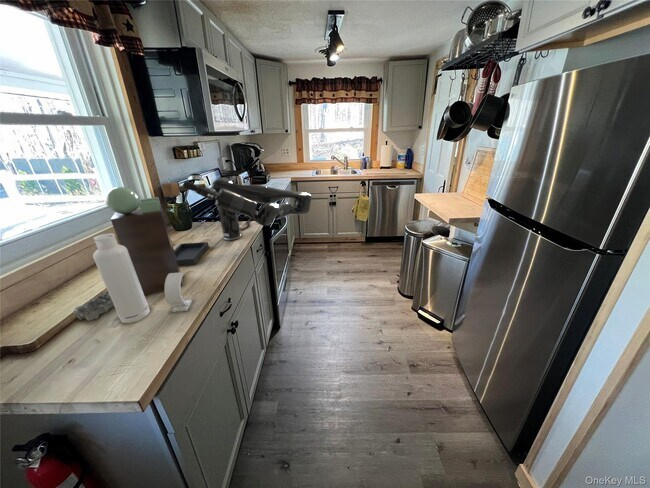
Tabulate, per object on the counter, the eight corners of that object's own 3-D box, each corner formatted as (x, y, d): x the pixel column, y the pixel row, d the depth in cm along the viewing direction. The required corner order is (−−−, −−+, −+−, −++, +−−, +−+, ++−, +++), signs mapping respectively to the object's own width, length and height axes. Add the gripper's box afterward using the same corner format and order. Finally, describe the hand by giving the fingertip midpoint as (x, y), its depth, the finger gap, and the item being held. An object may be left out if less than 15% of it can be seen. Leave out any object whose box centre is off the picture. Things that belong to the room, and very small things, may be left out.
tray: (182, 249, 134) (180, 243, 133) (209, 247, 135) (207, 241, 134) (164, 267, 116) (162, 260, 115) (195, 264, 117) (193, 258, 116)
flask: (113, 212, 90) (103, 186, 86) (161, 206, 97) (153, 181, 93) (108, 219, 83) (98, 191, 79) (160, 211, 89) (153, 185, 86)
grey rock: (90, 322, 82) (85, 312, 81) (74, 319, 84) (68, 308, 83) (122, 302, 92) (118, 293, 90) (107, 299, 94) (102, 290, 92)
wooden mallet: (164, 194, 94) (160, 181, 92) (205, 189, 101) (203, 177, 98) (165, 199, 91) (161, 186, 88) (207, 194, 97) (205, 181, 95)
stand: (141, 284, 103) (115, 212, 91) (181, 275, 109) (161, 205, 97) (140, 297, 95) (110, 219, 83) (182, 285, 101) (160, 212, 89)
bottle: (155, 309, 88) (127, 232, 76) (132, 325, 81) (98, 243, 69) (138, 305, 90) (109, 230, 79) (114, 320, 83) (78, 240, 72)
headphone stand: (191, 301, 91) (183, 272, 86) (185, 312, 86) (175, 281, 81) (178, 302, 91) (169, 273, 86) (170, 313, 85) (160, 282, 80)
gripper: (230, 213, 99) (181, 196, 89) (223, 205, 110) (179, 190, 100) (237, 195, 98) (188, 176, 88) (230, 189, 109) (186, 172, 99)
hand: (184, 183), depth 94 cm, fingers closed on wooden mallet
